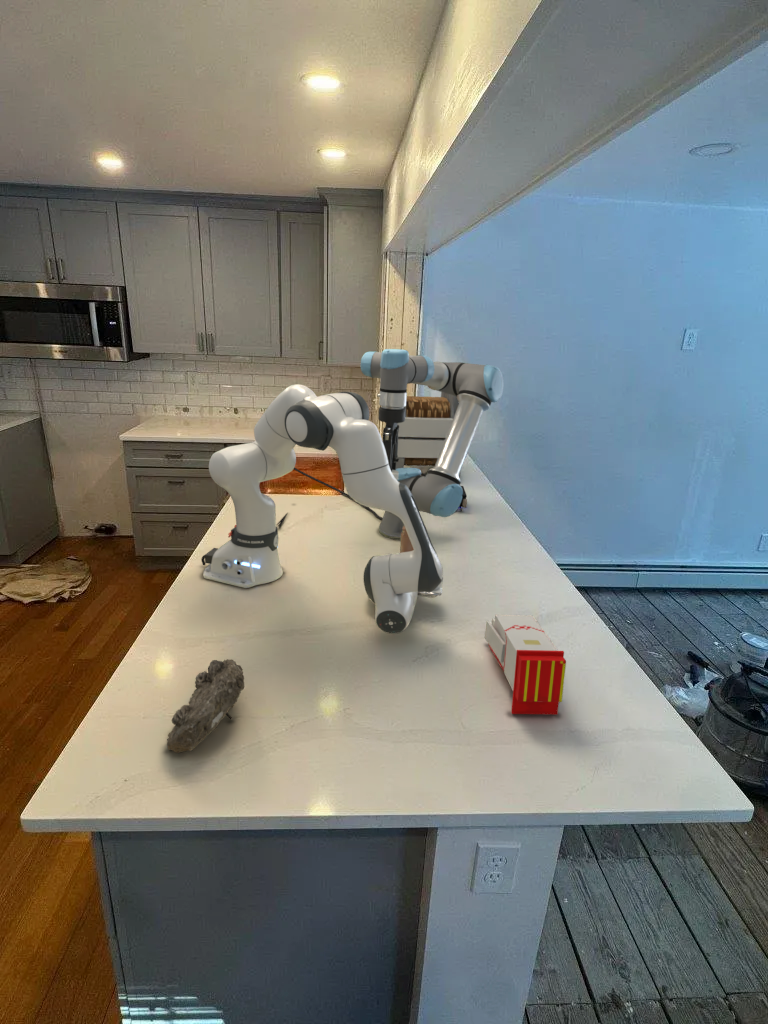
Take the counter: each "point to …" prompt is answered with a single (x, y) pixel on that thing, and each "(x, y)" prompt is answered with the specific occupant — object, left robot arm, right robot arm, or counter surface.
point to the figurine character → (463, 500)
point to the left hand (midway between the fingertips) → (408, 568)
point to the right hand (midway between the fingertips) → (388, 486)
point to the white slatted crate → (424, 429)
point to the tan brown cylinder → (405, 542)
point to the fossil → (206, 705)
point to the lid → (395, 474)
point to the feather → (281, 520)
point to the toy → (527, 663)
